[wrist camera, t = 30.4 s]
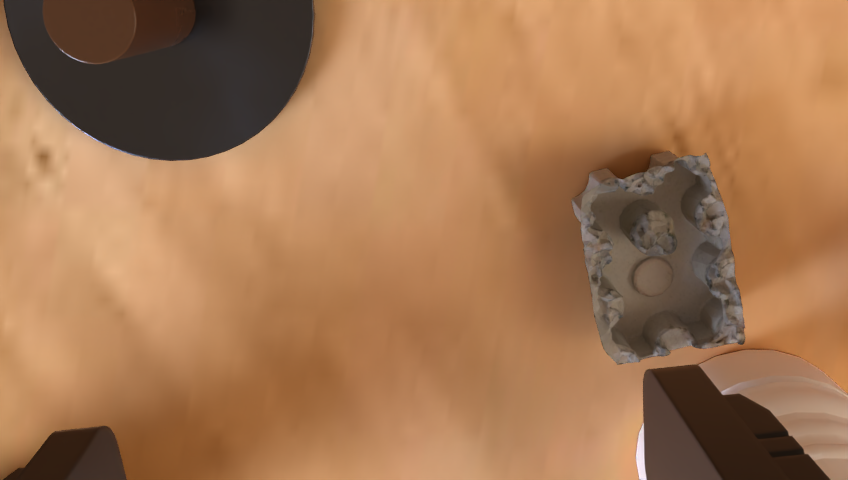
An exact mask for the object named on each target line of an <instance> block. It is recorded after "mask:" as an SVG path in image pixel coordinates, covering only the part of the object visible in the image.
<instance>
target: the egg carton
mask: <svg viewBox="0 0 848 480" xmlns="http://www.w3.org/2000/svg"><path fill="white" fill-rule="evenodd" d="M650 159H651V163H650V165H649V168H648V170H647V172H641V173H636V174H634V175H631V176H629V177H626V178H625V179H619V178H617V177H616V176H615V175H614V174H612V172H611V171H610V170H609V169H607V168H604V169H601V170H597V171H593V172H591V173H589V182H588V185H587V187H586V189H585V190H584V191H583V192H582V193H581V194H580V195H578V196H577V197H575V198H572V206H573V210H574V213H575V216H576V218H577V219H578V220H579V221H580V222H581V235H582V241H583V243H584V249H583V250H584V255H585V264H586V268H587V271H588V277H589V282H590V288H591V294H592V302H593V310H594V317H595V320H596V324H597V328H598V331H599V335H600V339H601V342H602V345H603V348H604V350H605V351H606V353H607V354H608V355H609V356H610V357H611V358H612V359H613V360H614V361H615V362H616V363H617V365H619V364H625V363H633V362H640V360H642V359H645V358H649V357H654V356H667V355H669V354H670V352H669V351H670V350H674V349H678V348H682V347H686V346H691V345H692V346H693V347H695V348H702V349H705V348H713V347H718V346H722V345H724V344H733V343H738V344H741V345H743V344H744V342H745V334H744V328H745V325H744V318H743V307H742V302H741V297H740V292H739V288H738V286H737V284H736V279H735V262H734V255H733V252H732V250H731V240H730V233H729V222H728V215H727V213H726V210H725V207H724V204H723V201H722V198H721V195H720V193H719V190H718V188H717V185H716V182H715V179H714V177H713V174H712V172H711V170H710V161H709V158H708V156H707V154H706V153H705V154H704V155H702V156H692V155H687V156H684V157H680V158H679V157H677V156H675V155H674V154H672V153H671V152H670V151H666V152H662V153H659V154H653V155H651V157H650Z"/></svg>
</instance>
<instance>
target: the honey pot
mask: <svg viewBox="0 0 848 480" xmlns="http://www.w3.org/2000/svg"><path fill="white" fill-rule="evenodd" d="M698 366H700V367H701V368H702V370H703V371H704V372H705V373H706V375H707V376H708V377H709V378H710V380H711V381H712V382H713V384H714V385H715V386H716V387H717V389H718V390H719V391H720V392H721V394H722V395H729V394H738V393H739V394H741V395H743V396H745V397H747V398H748V399H750V400H752V401H754V402H756V403H757V404H759V405H761V406H763V407H765V408H766V409H768V410H770V411H771V412H772V414H773V415H774V416H775V417H776V418H777V419H778V420H779V422H780V423H781V424H782V425H783V426H784V427H785V428H786V430H787V431H788V434H789V436H793V438H794V439H795V440H796V441H797V442H798V443H799V444H800V446H801V447H802V448H803V449H804V453H805V454H808V455H809V456H810V457H811V458H812V459H813V460H814V461H815V463H816V464H817V465H818V466H819V467H820V468H821V469H822V471H823V472H824V473H825V474H826V475H827V476H828V477H829V479H830V480H848V394H847V393H846V392H845V391H844V390H843V389H842V388H841V387H840V386H838V385H837V384H836V383H835V382H834V381H833V380H832V379H831V378H830V377H829V376H827V375H826V374H825V373H824V372H823V371H822V370H820V369H819V368H817V367H815V366H814V365H812V364H810V363H809V362H807V361H805V360H804V359H802V358H801V357H797V356H794V355H790V354H786V353H783V352H779V351H775V350H741V351H737V352H732V353H728V354H724V355H719V356H715V357H713V358H711V359H709V360H707V361H705V362H703V363H701V364H699V365H698ZM636 462H637V468H638V474H639V479H640V480H647V478H646V472H645V463H644V423H643V425H642V427H641V430H640V432H639V436H638V444H637V452H636Z"/></svg>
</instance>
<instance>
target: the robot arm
mask: <svg viewBox="0 0 848 480" xmlns="http://www.w3.org/2000/svg"><path fill="white" fill-rule="evenodd" d="M643 412H644V463H645V472H646V478H647V480H830V479H829V477H828V476H827V475H826V474H825V473H824V472H823V471H822V469H821V468H820V467H819V466H818V465H817V464H816V463H815V461H814V460H813V459H812V458H811V457H810V456H809V455H808V454H805V453H804V449H803V448H802V447H801V446H800V444H799V443H798V442H797V441H796V440H795V439H794V438H793V436H789V434H788V431H787V430H786V428H785V427H784V426H783V425H782V424H781V423H780V422H779V420H778V419H777V418H776V417H775V416H774V415H773V414H772V412H771V411H770V410H768V409H766V408H765V407H763V406H761V405H759V404H757V403H756V402H754V401H752V400H750V399H748V398H747V397H745V396H743V395H741V394H739V393H738V394H729V395H722V394H721V392H720V391H719V390H718V389H717V387H716V386H715V385H714V384H713V382H712V381H711V380H710V378H709V377H708V376H707V375H706V373H705V372H704V371H703V370H702V368H701V367H700V366H698V365H685V366H676V367H667V368H657V369H648V370H646V372H645V374H644V379H643ZM3 480H127V479H126V475H125V471H124V467H123V463H122V459H121V455H120V451H119V447H118V444H117V440H116V437H115V435H114V433H113V431H112V430H111V429H110V428H109V427H107V426H99V427H90V428H80V429H71V430H61V431H55V432H53V433H52V434H51V435H50V436H49V437H48V438H47V440H46V441H45V442H44V444H43V445H42V446H41V447H40V449H39V450H38V451H37V453H36V454H35V455H34V456H33V458H32V459H31V460H30V462H29V463H28V464H27V465H26V467H25V468H18V469H17V470H15V471H14V472H13V473H11V474H10V475H8V476H7V477H6V478H4V479H3Z"/></svg>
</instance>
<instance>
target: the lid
mask: <svg viewBox="0 0 848 480" xmlns="http://www.w3.org/2000/svg"><path fill="white" fill-rule="evenodd" d="M4 8H5V13H6V18H7V24H8V28H9V31H10V34H11V37H12V40H13V43H14V47H15V49H16V51H17V53H18V55H19V58H20V60H21V62H22V64H23V66H24V68H25V70H26V71H27V73H28V74H29V76H30V78H31V79H32V81H33V83H34V84H35V86H36V87H37V88H38V89H39V91H40V92H41V93H42V95H43V96H44V97H45V98H46V100H47V101H48V102H49V103H50V104H51V105H52V106H53V107H54V108H55V109H56V110H57V111H58V112H59V113H60V114H61V115H62V116H63V117H64V118H65V119H67V120H68V121H69V122H70V123H72V124H73V125H74V126H75V127H76V128H78V129H79V130H81V131H82V132H84V133H85V134H87V135H89V136H90V137H92V138H93V139H95V140H97V141H99V142H101V143H103V144H105V145H107V146H109V147H111V148H113V149H116V150H119V151H122V152H125V153H128V154H131V155H135V156H139V157H144V158H149V159H156V160H167V161H177V160H193V159H198V158H204V157H209V156H212V155H216V154H219V153H222V152H225V151H228V150H230V149H232V148H234V147H236V146H238V145H240V144H242V143H244V142H246V141H247V140H249V139H250V138H252V137H253V136H255V135H256V134H258V133H259V132H260V131H261V130H263V129H264V128H265V127H266V126H267V125H268V124H270V123H271V122H272V121H273V120H274V119H275V118H276V116H277V115H278V114H279V113H280V112H281V111H282V110H283V108H284V107H285V106H286V105H287V103H288V102H289V100H290V99H291V97H292V96H293V94H294V93H295V91H296V89H297V87H298V85H299V83H300V81H301V79H302V77H303V75H304V72H305V69H306V66H307V63H308V60H309V57H310V53H311V48H312V42H313V37H314V21H315V10H314V0H4Z"/></svg>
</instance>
